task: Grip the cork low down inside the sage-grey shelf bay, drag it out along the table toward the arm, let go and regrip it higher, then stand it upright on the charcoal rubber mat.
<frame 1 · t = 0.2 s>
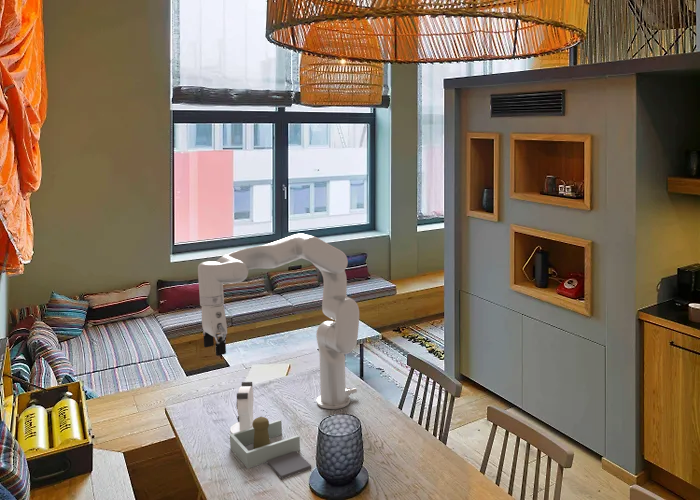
hand: (214, 350, 190), 31 cm above the table, tool pointing down, fingers open, 9 cm apart
shelf bay: (265, 449, 187), on the table
cork: (262, 451, 187), resting in shelf bay
charcoal mat: (288, 466, 177), on the table
white upright piece: (247, 428, 202), on the table
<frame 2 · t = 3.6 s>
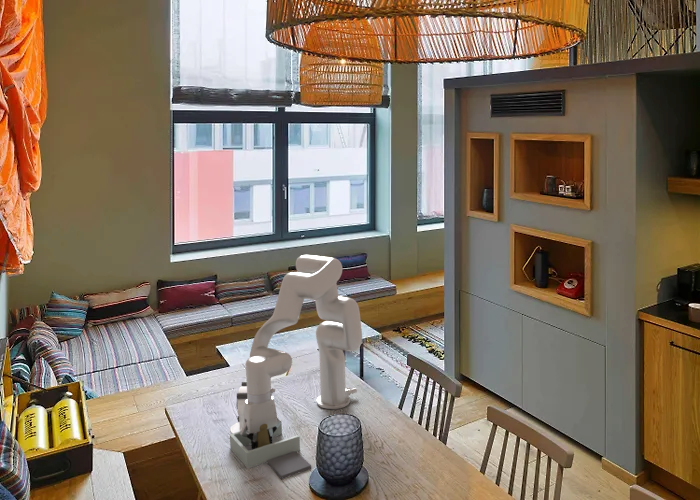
hand: (262, 448, 186), 1 cm above the table, tool pointing down, fingers closed on cork, 3 cm apart
cork: (262, 451, 186), resting in shelf bay, touching gripper
everything else where it was.
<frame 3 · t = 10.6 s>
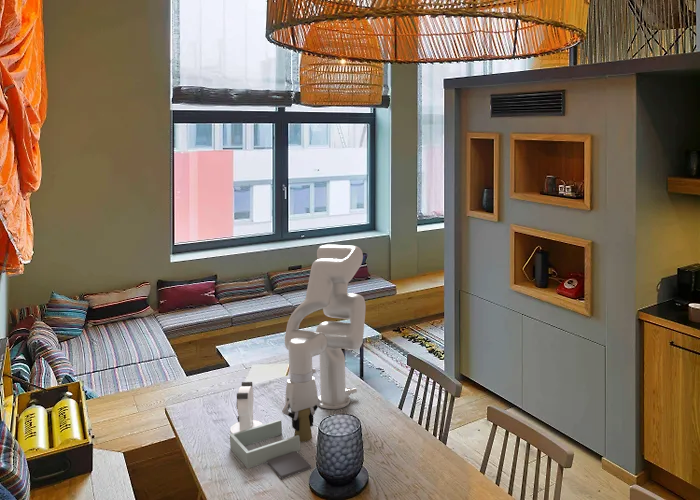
hand: (303, 426, 194), 4 cm above the table, tool pointing down, fingers closed on cork, 4 cm apart
cork: (303, 437, 194), on the table, touching gripper
everything else where it was.
when the fingers open (6 cm above the table, at t = 15.9 s): cork drops 1 cm, resting on charcoal mat.
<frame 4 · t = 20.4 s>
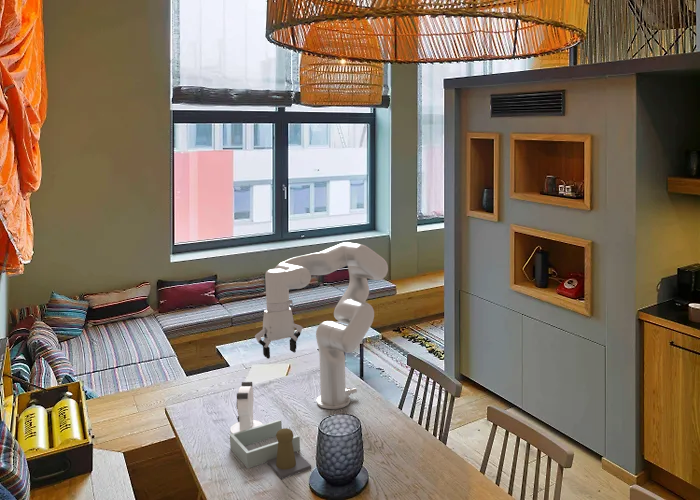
hand: (280, 354, 198), 26 cm above the table, tool pointing down, fingers open, 9 cm apart
cork: (286, 464, 177), point 1 cm above the table, touching charcoal mat
everything else where it was.
at the end: cork 0.9 cm off-centre on the charcoal mat, point 0.8 cm above the charcoal mat's base; cork tilted 0°; the gripper is holding nothing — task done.
